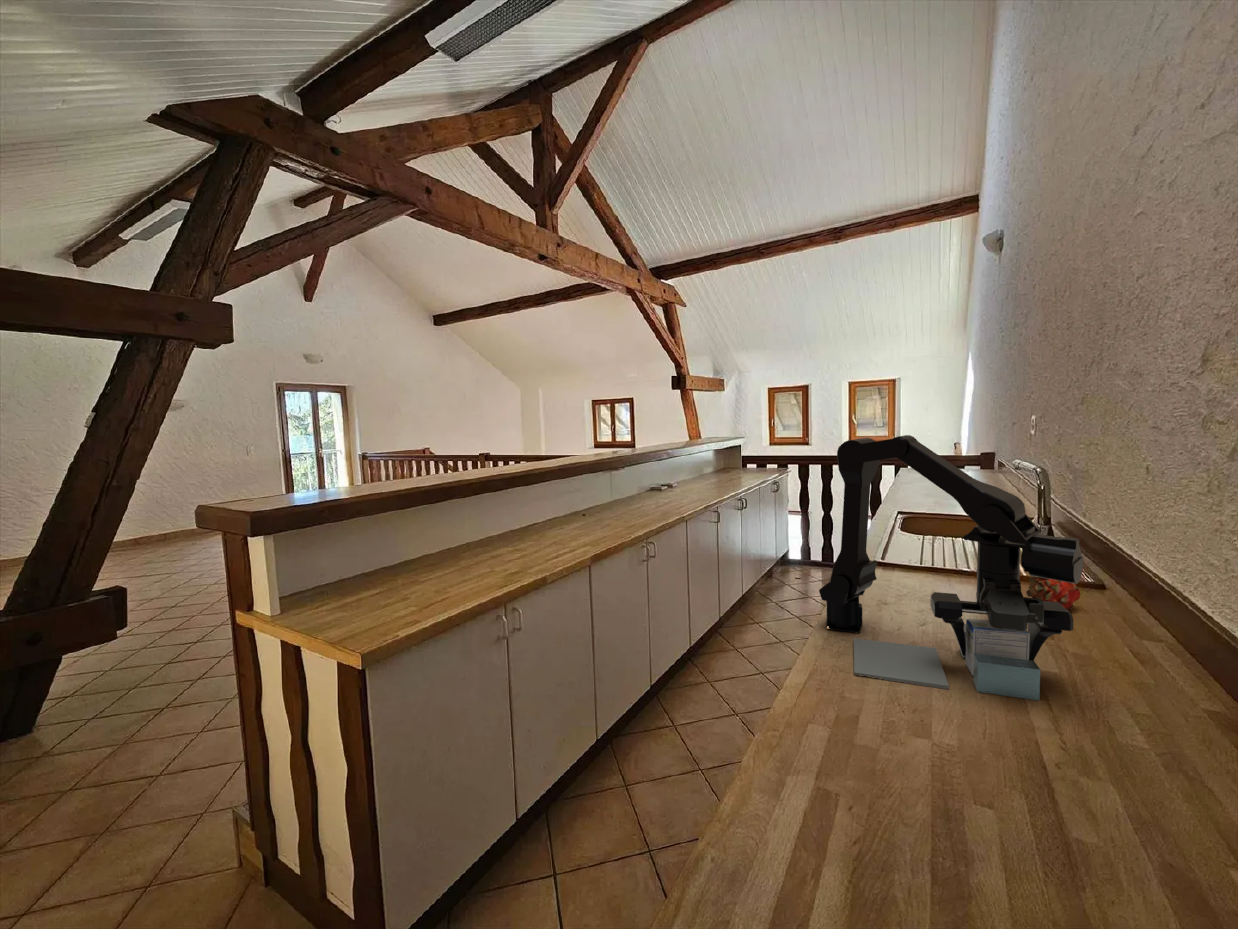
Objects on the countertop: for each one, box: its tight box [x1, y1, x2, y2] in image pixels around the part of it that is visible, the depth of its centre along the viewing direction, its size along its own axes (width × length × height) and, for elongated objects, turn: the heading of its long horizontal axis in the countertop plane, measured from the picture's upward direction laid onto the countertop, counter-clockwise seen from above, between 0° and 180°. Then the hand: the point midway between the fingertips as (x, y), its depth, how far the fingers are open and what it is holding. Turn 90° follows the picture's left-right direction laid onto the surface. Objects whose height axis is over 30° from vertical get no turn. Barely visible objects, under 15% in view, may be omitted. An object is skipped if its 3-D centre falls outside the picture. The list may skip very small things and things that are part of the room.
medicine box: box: [965, 618, 1030, 676], centre depth 88 cm, size 8×4×9 cm, turn 71°
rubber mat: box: [853, 637, 950, 690], centre depth 93 cm, size 14×14×1 cm
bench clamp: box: [959, 622, 1041, 701], centre depth 91 cm, size 8×21×5 cm, turn 156°
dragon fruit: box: [1025, 576, 1081, 612], centre depth 113 cm, size 8×8×12 cm
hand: (995, 658), depth 88 cm, fingers open, 9 cm apart
